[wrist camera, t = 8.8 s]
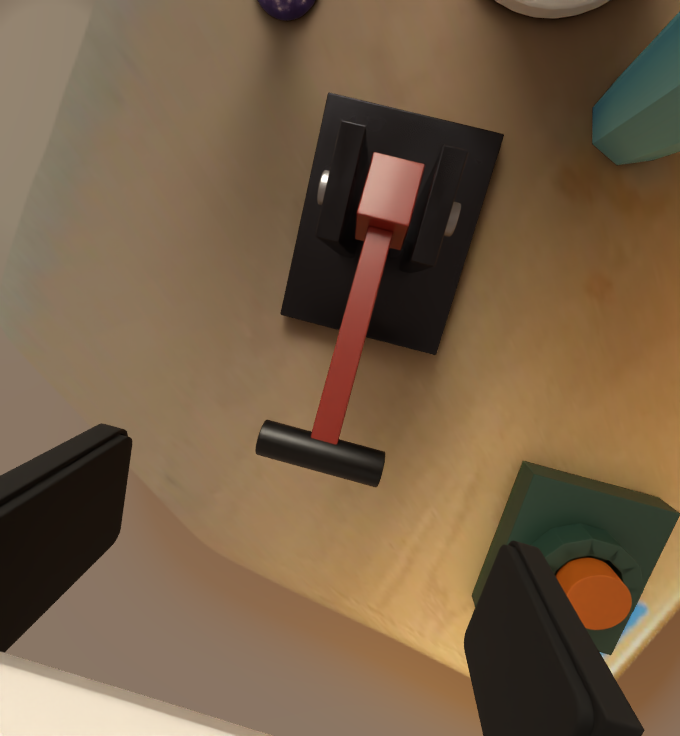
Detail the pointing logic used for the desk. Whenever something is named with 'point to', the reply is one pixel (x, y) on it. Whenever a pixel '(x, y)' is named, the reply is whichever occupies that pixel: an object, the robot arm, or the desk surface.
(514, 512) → the control block
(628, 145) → the cup
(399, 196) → the lever
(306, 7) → the toy lamp
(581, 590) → the button
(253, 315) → the desk surface
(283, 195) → the desk surface
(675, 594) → the desk surface
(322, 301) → the bracket
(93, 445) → the robot arm
